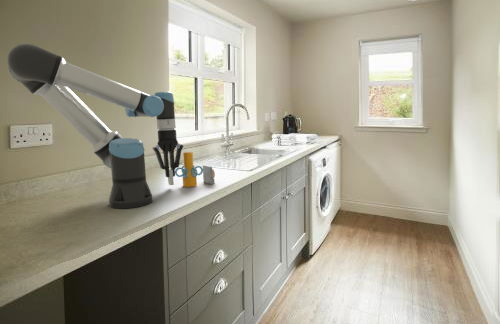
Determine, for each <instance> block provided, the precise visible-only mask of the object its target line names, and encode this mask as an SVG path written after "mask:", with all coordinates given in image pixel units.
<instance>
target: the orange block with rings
mask: <svg viewBox="0 0 500 324" xmlns="http://www.w3.org/2000/svg"><path fill="white" fill-rule="evenodd" d="M198 168H199V169H200V170H201V171H200V172H199V173H198V170H197V169H198ZM179 170H181V174H178V171H179ZM200 175H203V166H201V165H194V153H193V151H184V152H183V165H182V167H180V166H179V167H177V168H175V176H177V177H179V178H181V177H182V186H183V188H193V187H197V182H198V181H197V176H200Z"/></svg>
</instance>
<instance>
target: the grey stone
mask: <svg viewBox="0 0 500 324" xmlns="http://www.w3.org/2000/svg"><path fill="white" fill-rule="evenodd" d="M202 168H203V172H202V177H203V183H205V184H208V185H210V186H211V185H214V184H215V176H216V173H215V171H214V169H213V167H212V166H211V165H207V164H202Z"/></svg>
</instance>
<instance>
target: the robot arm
mask: <svg viewBox="0 0 500 324" xmlns="http://www.w3.org/2000/svg"><path fill="white" fill-rule="evenodd" d="M7 68H8V70H9V72H10V75H11V76H12V77H13V78H14V79H15V81H17V82H18V83H21V84H22V85H23V86H24V87H25V88H26V89H27V90H28V91H29V92H30V93H31V94H32V95H34V96H41V97H42V98H43V99H44V100H45V101H46V102H47V103H48V104H49V105H50V106H51V107H52V108H53V109H54V110H55V111H56V112H57V113H58V114H59V115H61V117H63V119H65V120H66V121H67V122H68V123H69V125H71V126H72V127H73V128H74V129H75V130H76V131H77V132H78V133H79V134H81V136H82V138H84V139H85V140H87V141H88V142H89V143H90V144H91V146H92V152H93V153H94V154H95V155H96V156H97V157H98V158H99V159H100V160H101V161H102V163H103V164H104V166H106V167H107V168H109V169H111V178H112V179H111V181H112V186H111V189H110V194H109V198H108V203H109V204H108V205H109V207H110V208H113V209H130V208H131V209H132V208H138V207H143V206H147V205H150V204H151V203H152V202H153V200H154V199H153V194H152V191H151V189H150V186H149V185H148V181H147V175H146V174H147V173H146V163H145V162H146V161H145V147H144V142H143V141H142V140H140V139H138V138H130V137H129V138H126V137H123V136H122V135H121V134H120V133H119V132H118V131H117V130H110V129H109V127H107V125H106V124H105V123H104V122H103V121H102V120H101V119H100V118H99V117H98V116H97V115H96V114H95V113H94V112H93V111H92V109H90V108H89V107H88V106H87V105H86V104H85V103H84V102H83V101H82V100H81V99H80V98H79V96H77V95H76V93H74V92H73V91H72V90H74V91H76V92H79V93H82V94H86V95H87V96H91V97H92V98H93V97H94V98H97V99H100V100H101V101H105V102H108V103H110V104H113V105H116V106H118V107H122V108H124V110H125V114H126V116H127V117H128V118H138V117H144V118H145V117H150V118H155V117H156V128H157V139H158V141H157V145H155V146H153V147H152V150H153V151H154V153H155V156H156V158H157V161H158V164H159V167H160V169H162V170H164V173H165V177H166V178H167V181H168V182H167V183H168V185H169V186H173V185H175V184H174V183H175V182H174V177H175V176H176V174H175V170H176V169H177V168H179V167H180V161H181V156H182V155H181V154H182V150H183V148H184V145H183V144H181V143H179V141H178V139H177V130H176V116H175V112H176V111H175V100H174V94H173V93H172V92H171V91H160V92H159V91H157V92H155V93H154V95H153V94H151V95H150V94H147V93H145V92H143V91H140V90H138V89H135V88H133V87H129V86H127V85H125V84H122V83H120V82H118V81H115V80H112V79H110V78H107V77H105V76H104V75H101V74H100V75H99V74H98V73H96V72H92V71H90V70H87V69H85V68H82V67H79V66H77V65H75V64H72V63H70V62H67V61H66V60H65V59H64V57H63V56H61V55H58V54H57V53H56V54H55V53H53V52H51V51H49V50H46V49H45V48H42V47H41V46H38V45H35V44H33V43H20V44H17V45H15V46H13V47H12V48H11V49H10V50H9V52H8V54H7ZM160 150H161V151H162V154H163V156H162V154H161V152H160ZM175 151H176V153H175ZM162 157H163V158H162Z"/></svg>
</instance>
